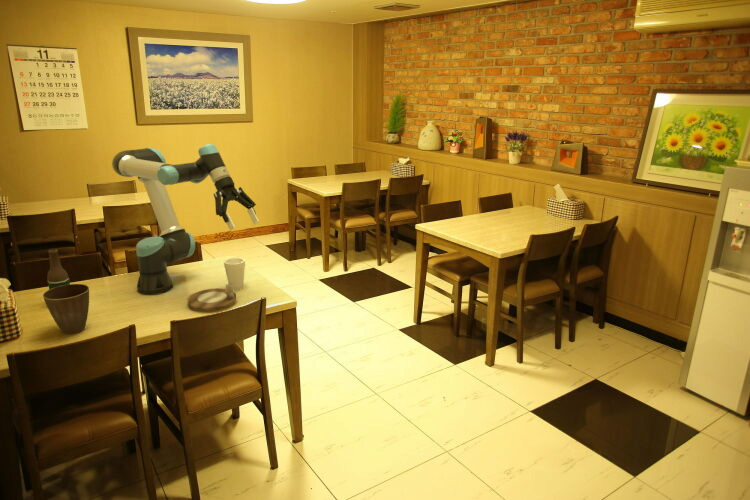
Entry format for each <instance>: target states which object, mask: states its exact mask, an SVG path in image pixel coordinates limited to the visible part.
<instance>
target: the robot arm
mask: <svg viewBox="0 0 750 500" xmlns="http://www.w3.org/2000/svg"><path fill="white" fill-rule="evenodd" d="M197 151H198V152H197V154H198V155H199V158H198V159H196V161H193V162H186V163H179V164H171V163H167V162H166V159H165V156H164V155H163V154H162V152H161V151H160V150H158V149H157V148H153V147H152V148H148V147H145V148H137V149H127V150H121V151H119V152H118V153H116V154H115V155H114V157H113V159H112V163H111V166H112V170H114V172H115V173H116V175H119V176H121V177H126V178H133V177H137V179H138V181H139V182H141V183H142V184H143V186H144V187H145V191H146V193H147V197H148V199H149V202H150V204H151V206H152V209H153V212H154V215H155V218H156V221H157V223H158V226H159V229H160V232H161V233H160V234H159V236H152V237H151V236H150V237H149V236H148V237H146V238H143V239H141V240H139V241H138V242H137V243H136V247H135V248H136V249H135V250H136V252H135V254H136V257H137V265H138V266H137V267H138V271H139V272H138V273H139V274H138V275H139V276H138V280H137V286H136V289H137V293H139V294H141V295H148V296H149V295H150V296H151V295H159V294H164V293H167V292H169V291H170V290H172V289H173V288H174V284H173V283H174V282H173V280H172V278H171V276H170V274H169V272H168V268H167V264H170V263H173V262H177V261H181V260H184V259H186V258H189V257H191V256H192V255H193V254H194V252H195V250H196V240H195V238H194V236H193V235H192V234H191V233H190V232H187V231H186V229H185V228H184V227H182V226H181V225H180V222H179V220H178V217H177V214H176V212H175V211H176V210H175V208H174V206H173V203H172V200H171V197H170V195H169V192H168V190H167V187H166V186H172V185H176V184H182V183H186V182H189V183H193V184H196V185H197V184H200V183H201V182H203V181H205V179H206V178H208V176H210V178H211V179H210V180H211V181H212V183H213V184H214V187H215V189H216V191H215V192H214V193H213V197H214V202H215V203H214V204H215V215H216V216H219V217H220V218H222V220H223V221H224V223H226V225H227V227H228V229H229V231H232V230H233V229H235V228H236V226H235V224H234V221H233V220H232V218H231V216H230V214H229V212H227V209H228V204H229V202H230V201H235V202H237V203H239V204H240V205H241V206H243V207H244V208H246V209H247V213H248V215H249V217H250V219H251V221H252V224H253V225H256V224H257V223H259V222H260V220H259V218H258V217H257V212H256V211H255V208H254V207H255V206H256V202H255V201H254V200H253V199H252V198H251V197H249V195H248V194H247V193H245V191H244V189H243V188H242V187H241V186H240V187H238V188H236V187H235V182H234V180H233V177H231V173H230V172H229V170H228V168H227V167H226V164H225V162H224V160H223V157H222V155H221V154H220V151H219V149H218V147H217V146H216V145H215V144H213V143H207V144H204V145H203V146H201V147H199V148H198V150H197Z"/></svg>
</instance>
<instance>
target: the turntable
mask: <svg viewBox="0 0 750 500" xmlns="http://www.w3.org/2000/svg"><path fill="white" fill-rule="evenodd" d="M236 301H237V294H236V292H235V290H233V284H228V283H227V284H226V285H225V288H208V289H203V290H198V291H196V292H194V293H192V294H191V295H190V296H189V297H188V298H187V304H188V306H189V307H190V308H191V309H194V310H199V311H215V310H220V309H224V308H227V307H229V306H232V305H233V304H234V303H235V302H236Z"/></svg>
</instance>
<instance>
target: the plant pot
mask: <svg viewBox="0 0 750 500" xmlns="http://www.w3.org/2000/svg"><path fill="white" fill-rule="evenodd" d="M42 297H43V300H44V303H45V305H46V307H47V309H48V311H49V313H50V315H51V317H52V319H53V321H54V322H55V324H56V325H57V327H58V328H59V329H60V331H61V332H62V333H63V334H64V335H65V334H66V335H74V334H78V333H81V332H83V331H84V330H85V329H86V326H87V321H88V314H89V308H90V287H89V286H88V285H87V284H83V283H70V284H69V285H63V286H58V287H55V288H52V289H50V290H49V289H48V290H46V291H44V293H43V294H42Z"/></svg>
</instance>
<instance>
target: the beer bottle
mask: <svg viewBox="0 0 750 500" xmlns="http://www.w3.org/2000/svg"><path fill="white" fill-rule="evenodd" d="M47 253H48V256H49V270H48V271H47V275H46V277H47V278H46V279H47V284H48V286H47V287H48V290H50V289H52V288H55V287H58V286H63V285H69V284H71V283H70V277H69V274H68V273H67V271H66V270H65V269H64V268H63V266H62V264H61V260H60V257H59V250H58V249H56V248H51V249H49V250H47Z"/></svg>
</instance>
